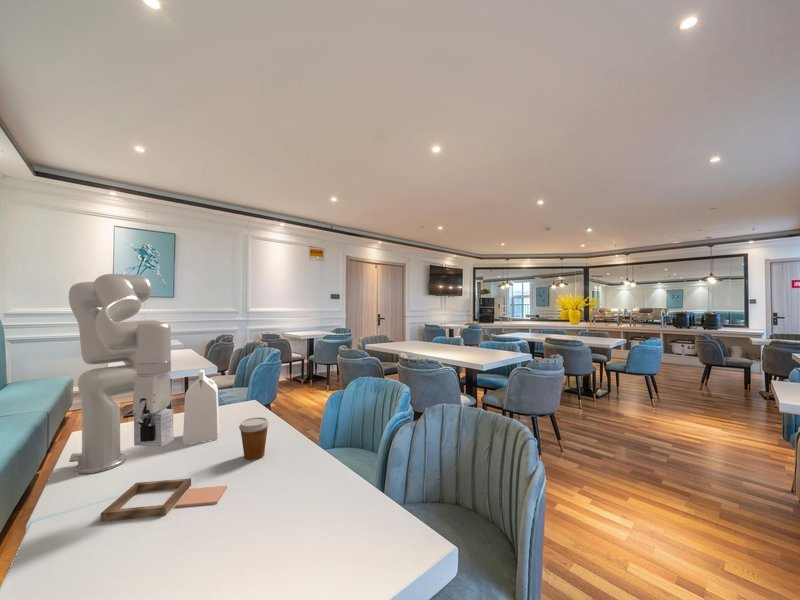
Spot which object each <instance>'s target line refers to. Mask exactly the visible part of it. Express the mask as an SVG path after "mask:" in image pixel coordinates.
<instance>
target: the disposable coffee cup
mask: <svg viewBox="0 0 800 600" xmlns="http://www.w3.org/2000/svg"><path fill="white" fill-rule="evenodd" d="M269 425H270V422H269V420H268V418H266V417H258V416H257V417H251V418H246V419H244V420H242V421H241V422H240V423H239V427H238V428H239V431H240V436H241V441H242V449H243V456H244V457H243V458H244V460H245V461H256V460H259V459H262V458H263V457H264V456H265V452H266V451H265V450H266V444H267V436H268V435H267V433H268V428H269Z"/></svg>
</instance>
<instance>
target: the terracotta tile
mask: <svg viewBox="0 0 800 600" xmlns="http://www.w3.org/2000/svg"><path fill="white" fill-rule="evenodd" d="M227 489H228V485H219V486H207V487H197V488H196V487H195V488H188V490H187V491H186V492H185V493H184V494H183V496H182V497H181V498H180V499H179V500H178V501H177V503H176V504H175V508H184V507H195V506H207V505H215V504H216V505H217V504H218V503H219V501H220V500H221V498H222V497H223V495H224V493H225V491H227Z"/></svg>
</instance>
